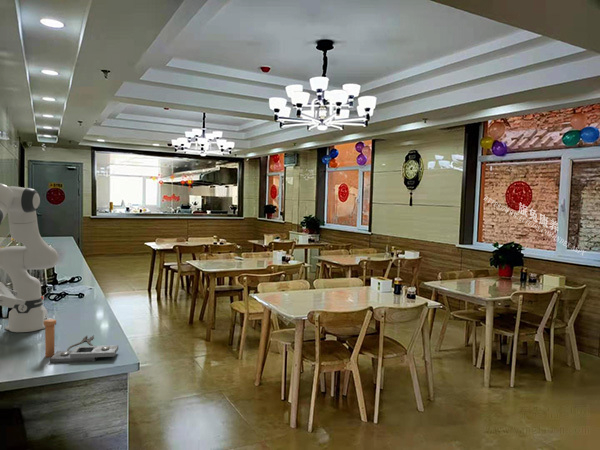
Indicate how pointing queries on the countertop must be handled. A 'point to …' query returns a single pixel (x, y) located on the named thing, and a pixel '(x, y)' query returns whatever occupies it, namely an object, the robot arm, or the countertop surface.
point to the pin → (49, 337)
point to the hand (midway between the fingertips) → (20, 298)
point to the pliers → (83, 342)
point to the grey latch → (84, 354)
